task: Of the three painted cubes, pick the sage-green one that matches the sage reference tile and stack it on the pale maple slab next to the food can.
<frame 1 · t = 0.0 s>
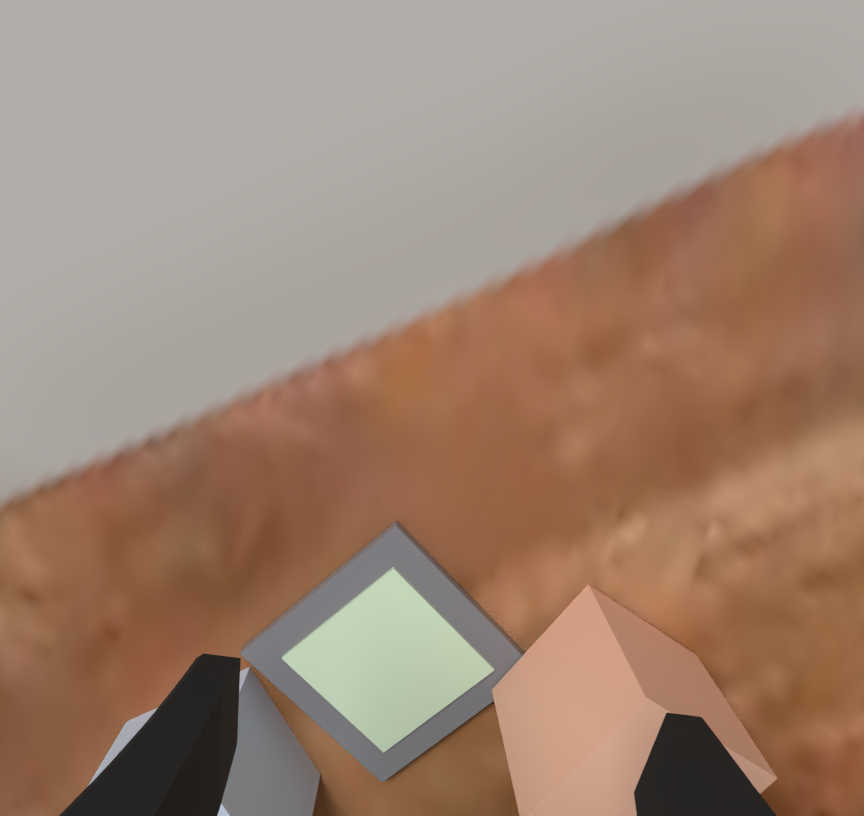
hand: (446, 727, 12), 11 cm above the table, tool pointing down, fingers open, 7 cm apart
slate blue cube: (225, 746, 25), on the table
reference tile: (389, 654, 23), on the table
terracotta cube: (594, 672, 23), on the table, tilted 6°, touching reference tile
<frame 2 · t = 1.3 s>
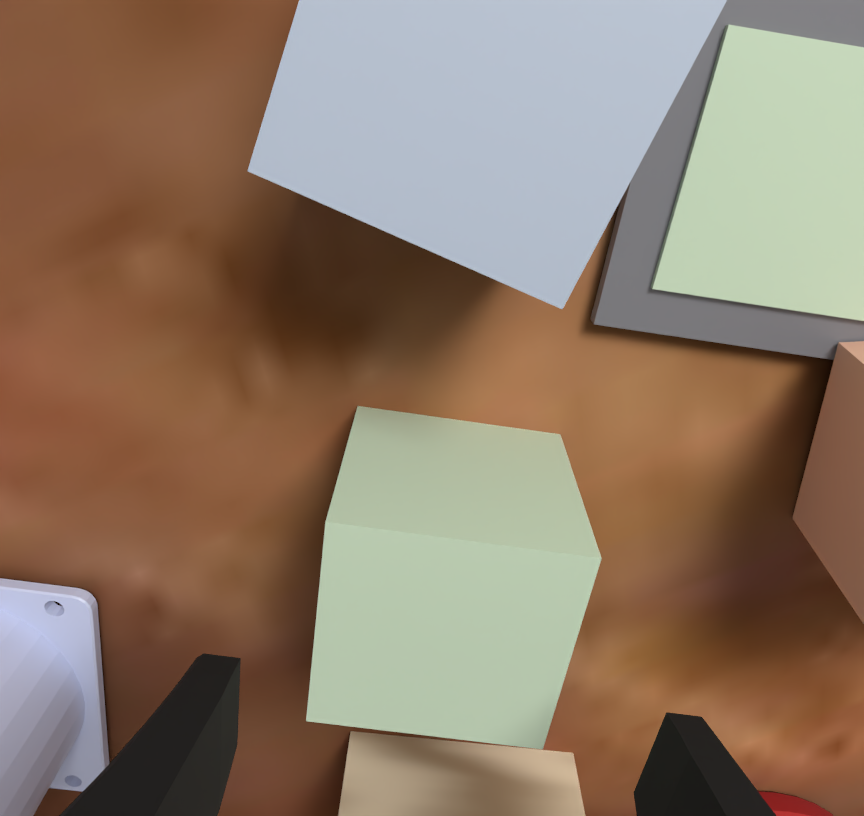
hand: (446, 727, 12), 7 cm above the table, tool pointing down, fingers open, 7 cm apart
maple slab: (448, 807, 23), on the table
slate blue cube: (471, 75, 14), on the table
reference tile: (796, 182, 14), on the table
sage cube: (444, 504, 18), on the table
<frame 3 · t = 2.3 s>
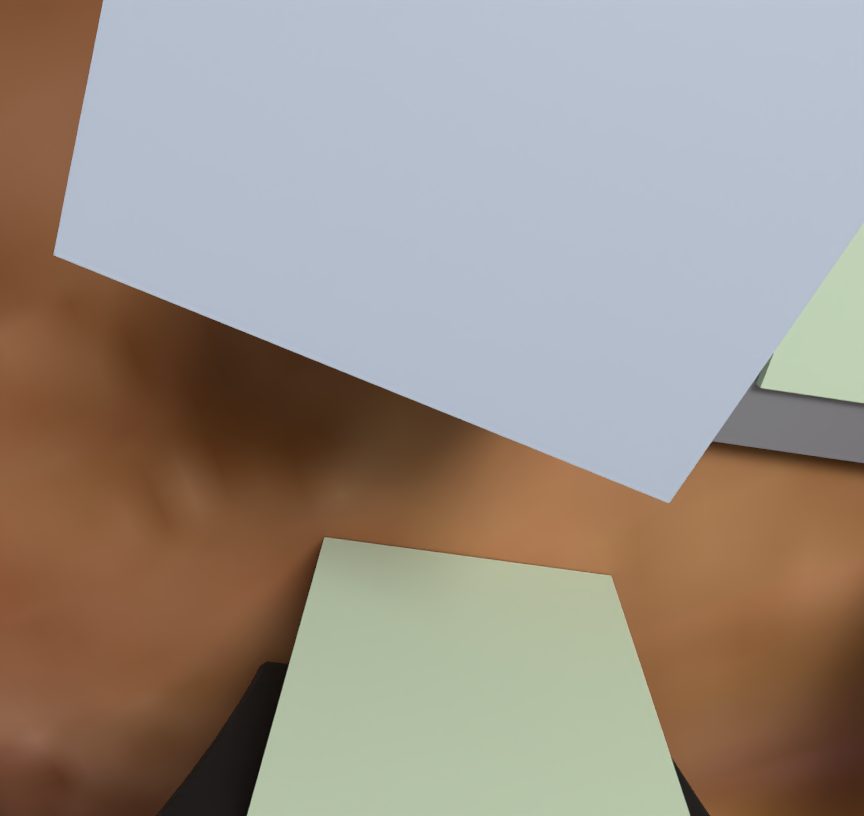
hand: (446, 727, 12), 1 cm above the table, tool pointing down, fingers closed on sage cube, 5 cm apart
slate blue cube: (490, 66, 9), on the table
sage cube: (446, 663, 13), on the table, touching gripper
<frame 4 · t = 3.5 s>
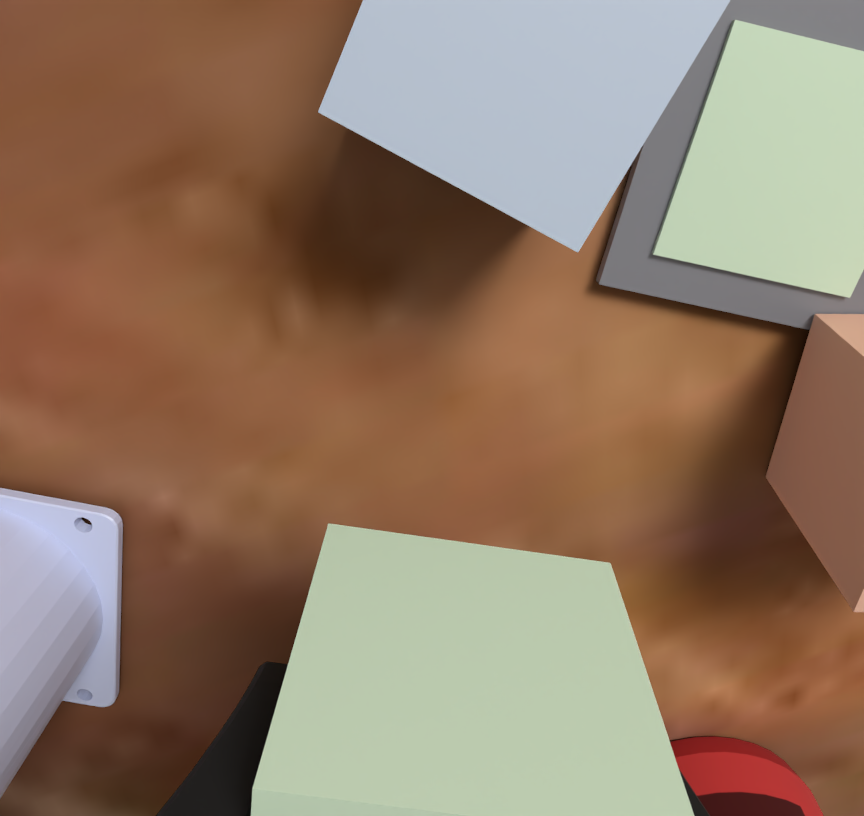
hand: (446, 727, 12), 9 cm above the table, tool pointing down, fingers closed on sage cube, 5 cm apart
slate blue cube: (504, 50, 15), on the table
reference tile: (786, 167, 16), on the table
sage cube: (448, 650, 13), point 7 cm above the table, touching gripper
canned food: (697, 798, 26), on the table
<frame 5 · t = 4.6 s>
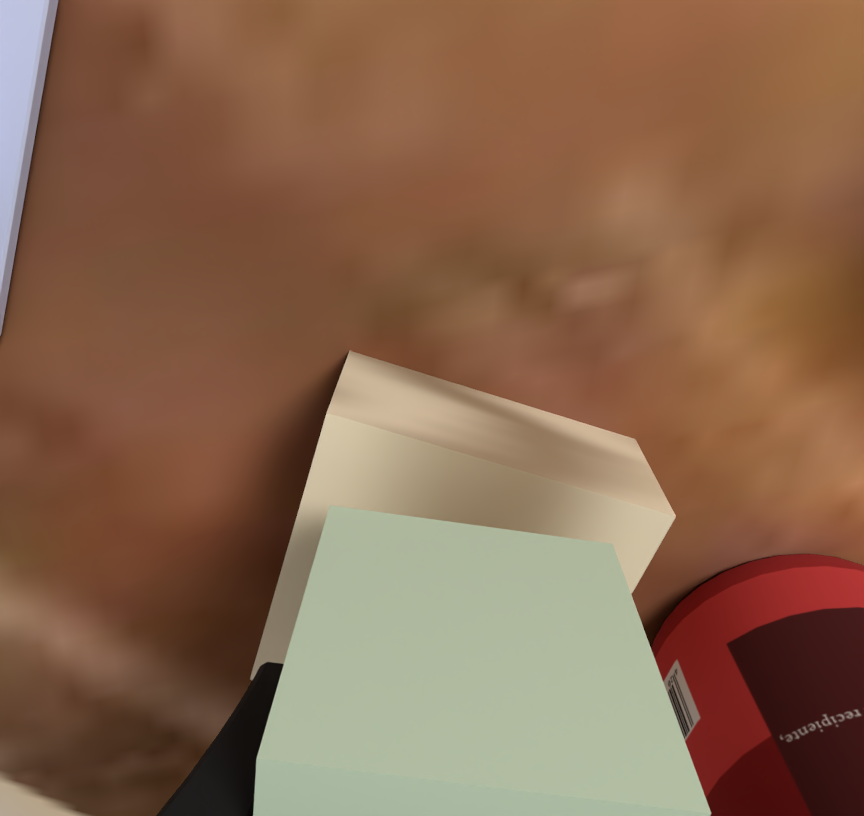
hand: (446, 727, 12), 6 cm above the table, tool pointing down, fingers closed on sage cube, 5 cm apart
maple slab: (447, 510, 18), on the table
sage cube: (450, 634, 13), point 4 cm above the table, touching gripper
canned food: (774, 655, 19), on the table
when the fingers open (6 cm above the table, at t = 5.1 s): sage cube drops 1 cm, resting on maple slab.
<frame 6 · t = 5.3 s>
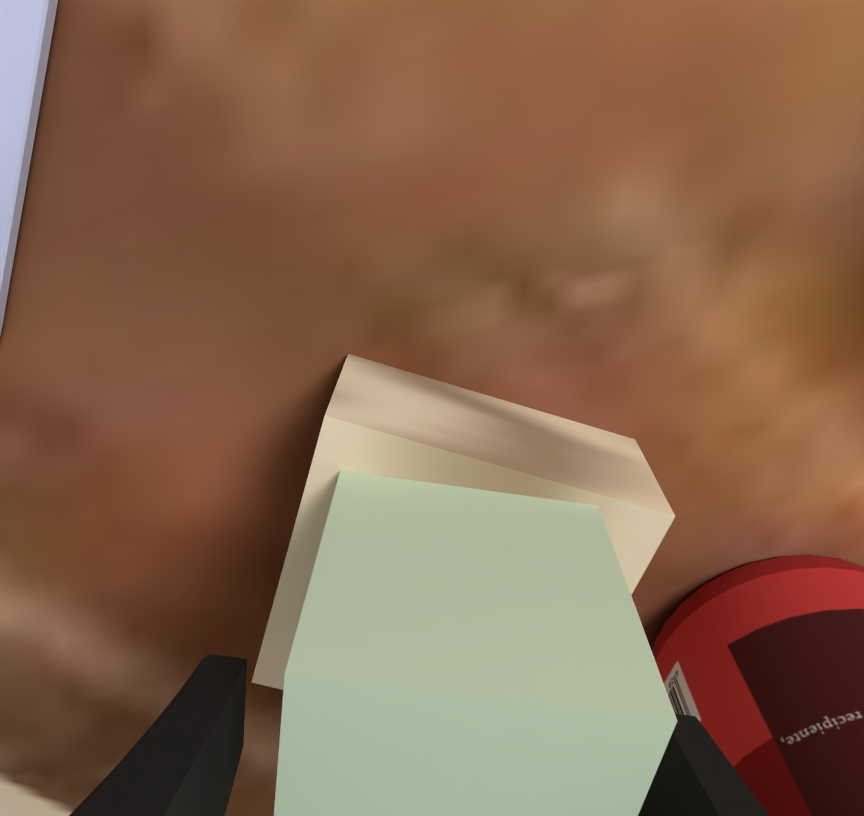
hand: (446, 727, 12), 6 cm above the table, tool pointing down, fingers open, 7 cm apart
maple slab: (448, 511, 18), on the table, touching sage cube
sage cube: (449, 590, 14), point 3 cm above the table, touching maple slab
canned food: (775, 656, 19), on the table
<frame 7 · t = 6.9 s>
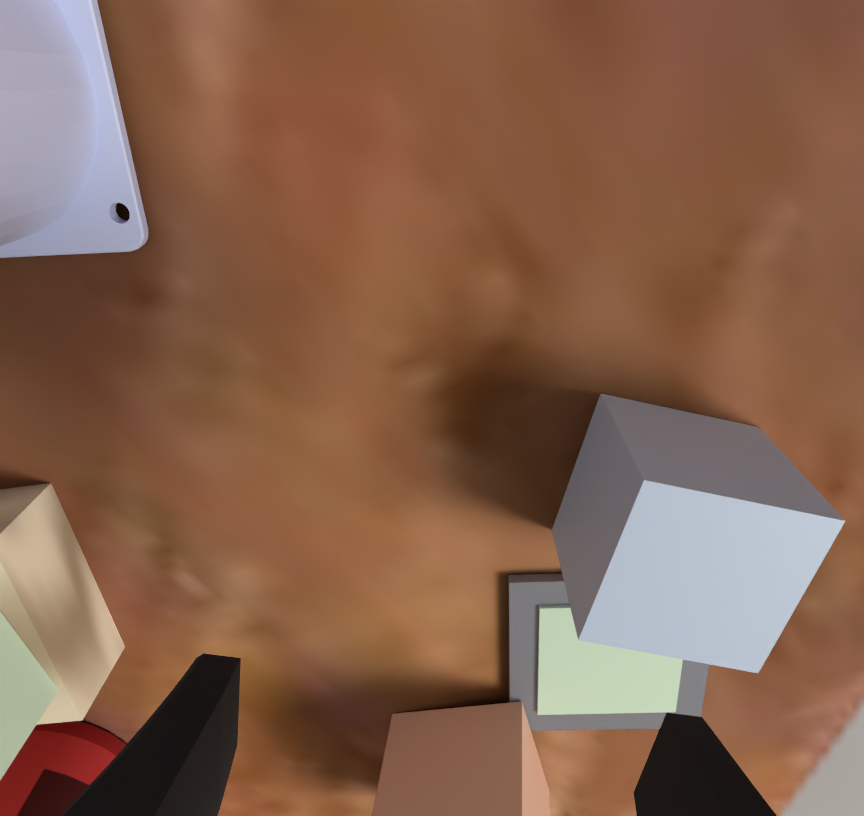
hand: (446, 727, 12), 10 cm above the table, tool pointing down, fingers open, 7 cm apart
maple slab: (0, 575, 24), on the table, touching sage cube
slate blue cube: (650, 479, 22), on the table
reference tile: (607, 650, 25), on the table
terracotta cube: (471, 752, 27), on the table, tilted 6°, touching reference tile
canned food: (67, 773, 28), on the table
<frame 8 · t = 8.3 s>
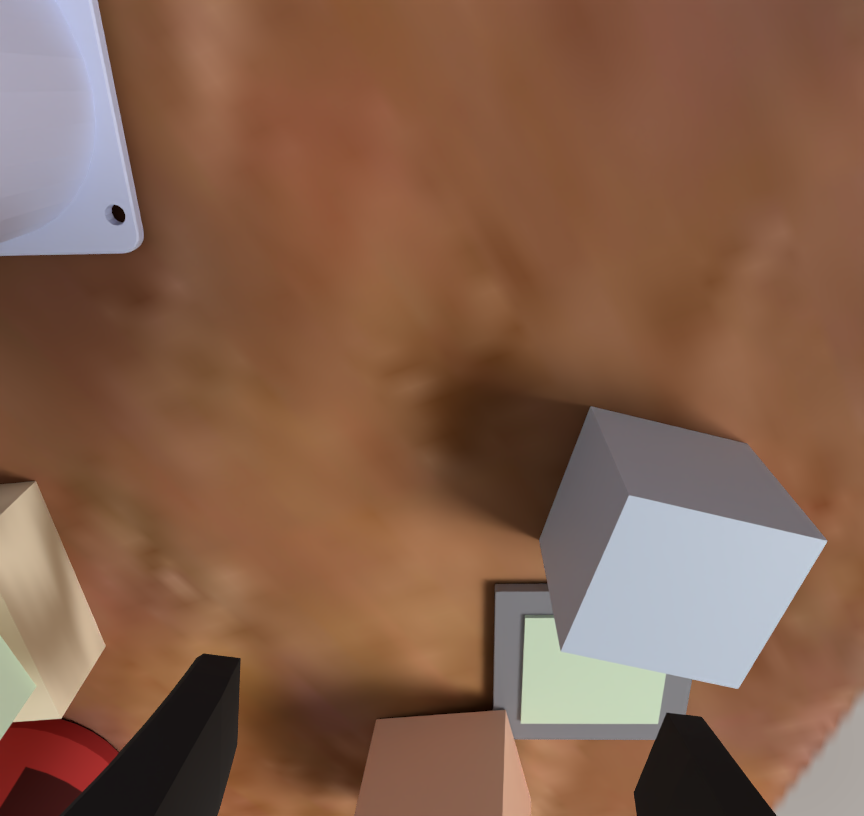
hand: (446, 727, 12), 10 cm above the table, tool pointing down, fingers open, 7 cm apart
slate blue cube: (638, 492, 22), on the table
reference tile: (591, 661, 25), on the table
terracotta cube: (454, 759, 27), on the table, tilted 6°, touching reference tile
canned food: (49, 771, 28), on the table
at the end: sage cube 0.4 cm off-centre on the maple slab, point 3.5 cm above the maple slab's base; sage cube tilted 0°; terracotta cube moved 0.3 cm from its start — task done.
